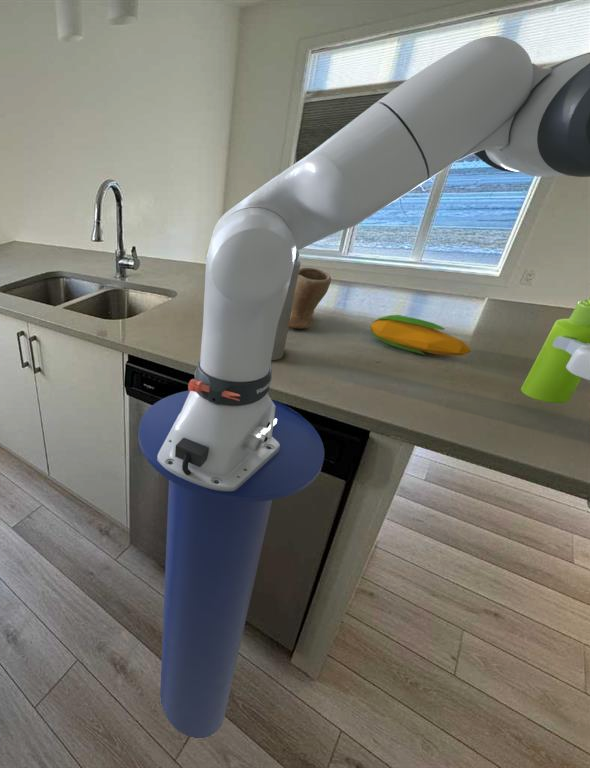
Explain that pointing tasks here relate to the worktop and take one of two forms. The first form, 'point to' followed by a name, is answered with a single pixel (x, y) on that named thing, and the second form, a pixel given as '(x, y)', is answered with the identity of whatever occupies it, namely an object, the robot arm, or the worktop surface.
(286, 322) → the thermos bottle
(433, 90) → the robot arm
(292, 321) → the stone cup
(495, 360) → the worktop surface
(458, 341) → the corn
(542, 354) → the soap dispenser
